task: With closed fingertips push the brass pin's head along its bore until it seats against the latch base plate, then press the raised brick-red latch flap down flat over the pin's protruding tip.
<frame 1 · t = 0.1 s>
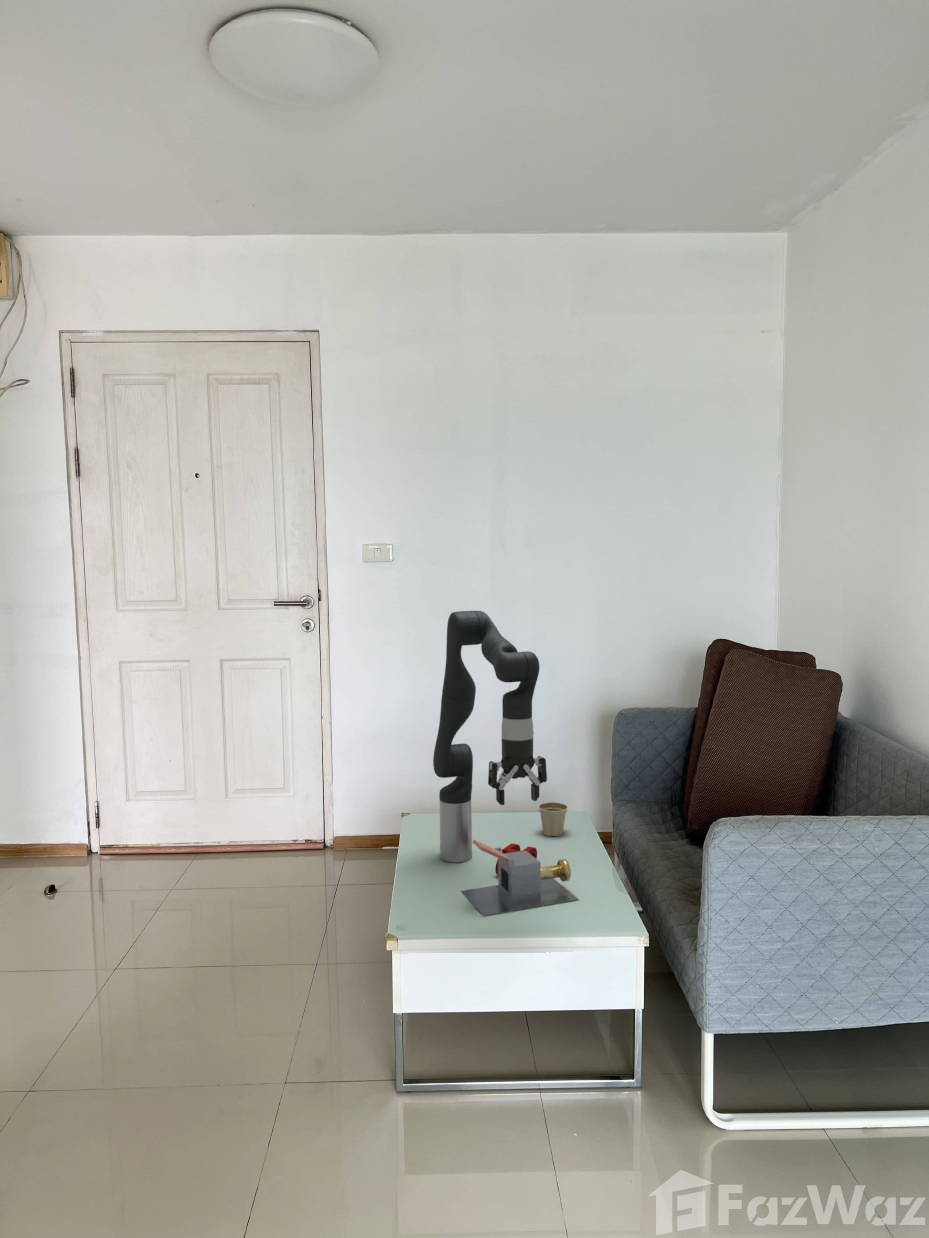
hand: (517, 802, 207), 29 cm above the table, fingers open, 8 cm apart
latch flap: (491, 851, 220), point 13 cm above the table, hinge at 30.0°
brass pin: (540, 873, 226), point 5 cm above the table, slide at 8.0 cm
flower pot: (553, 834, 271), on the table
mechanical linkage: (513, 869, 243), on the table
latch base plate: (519, 895, 224), on the table
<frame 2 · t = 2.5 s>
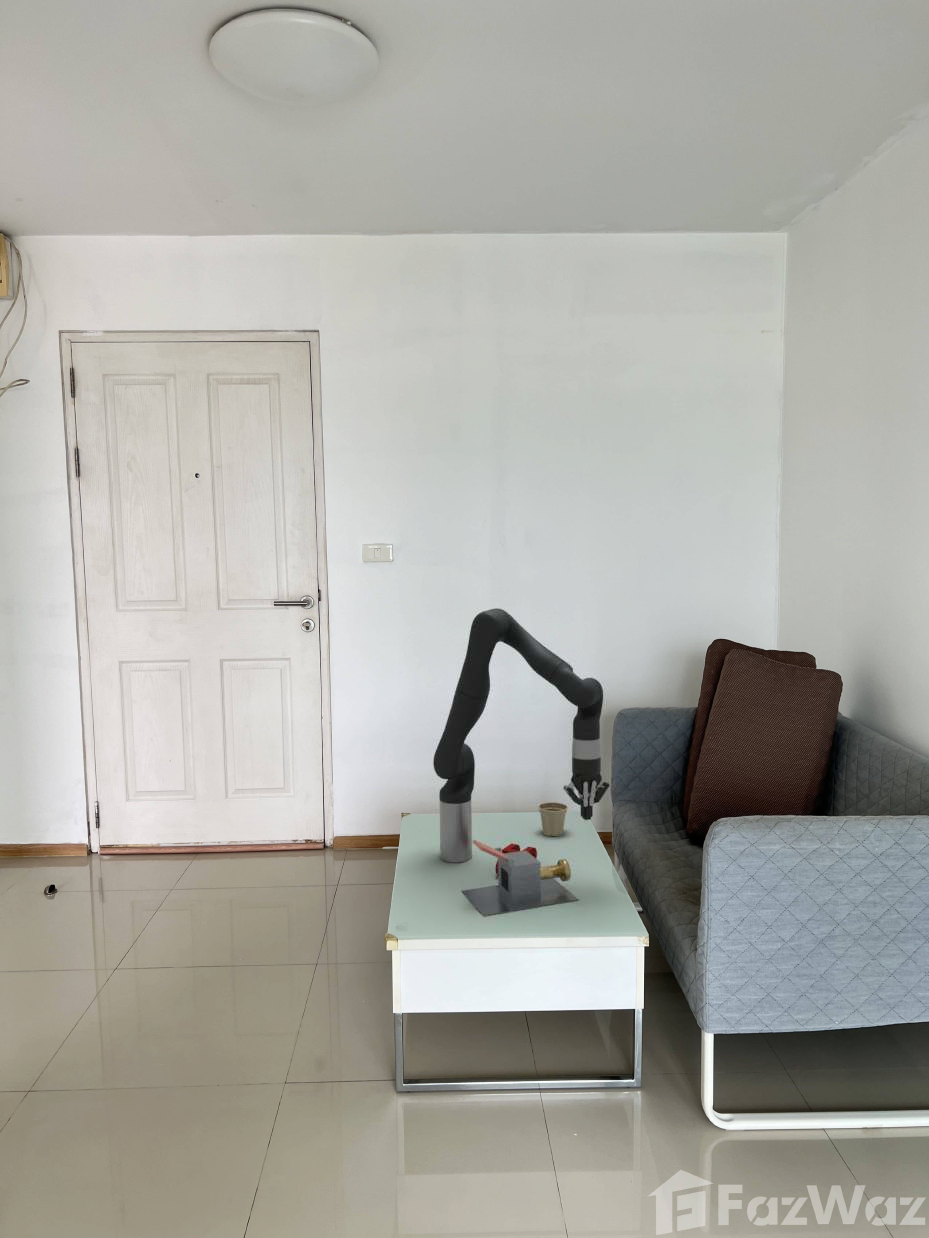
hand: (586, 818, 229), 18 cm above the table, fingers closed
nothing on the table moved.
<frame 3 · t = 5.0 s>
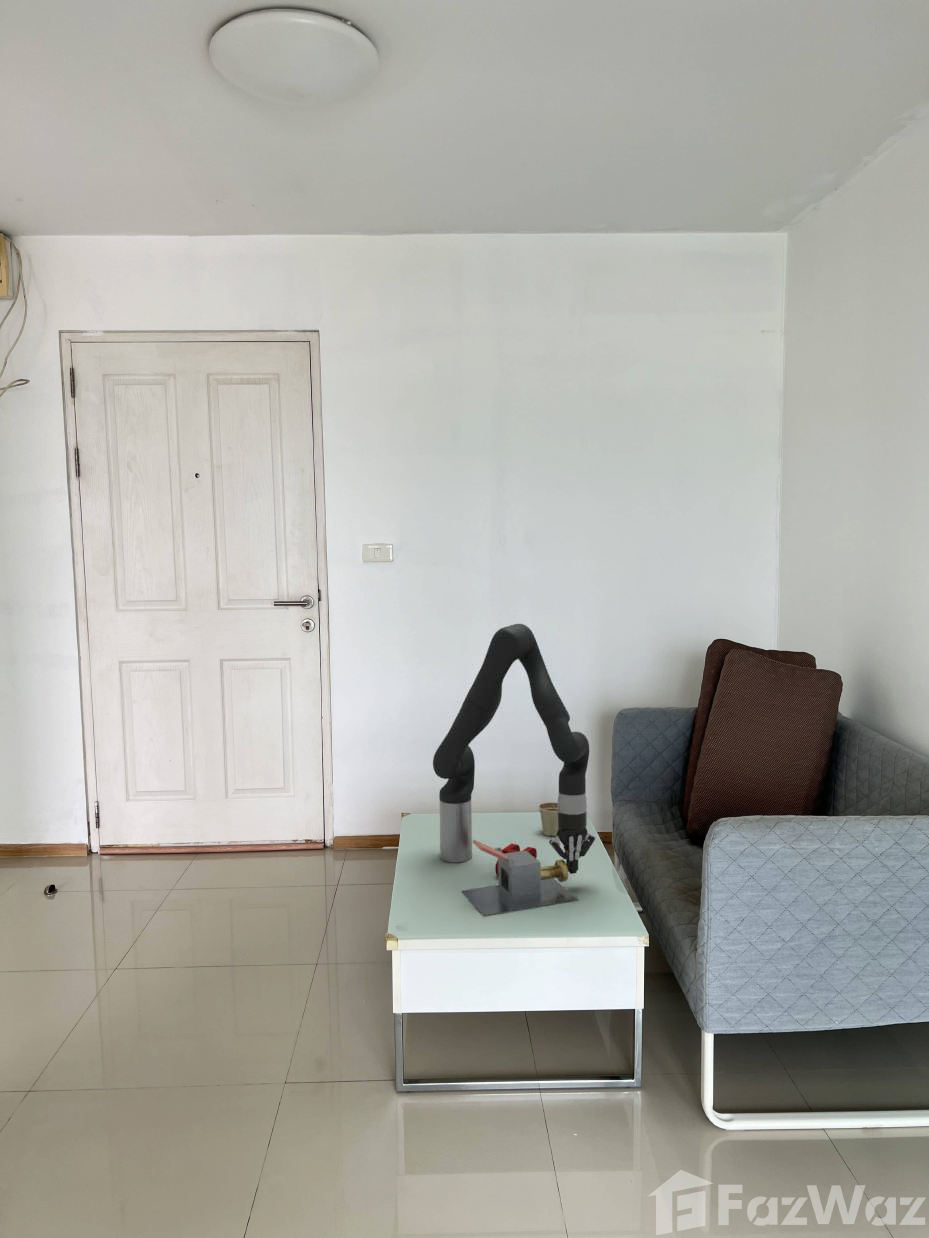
hand: (572, 872, 229), 4 cm above the table, fingers closed
brass pin: (538, 874, 226), point 5 cm above the table, slide at 7.3 cm, touching gripper
everything else where it was.
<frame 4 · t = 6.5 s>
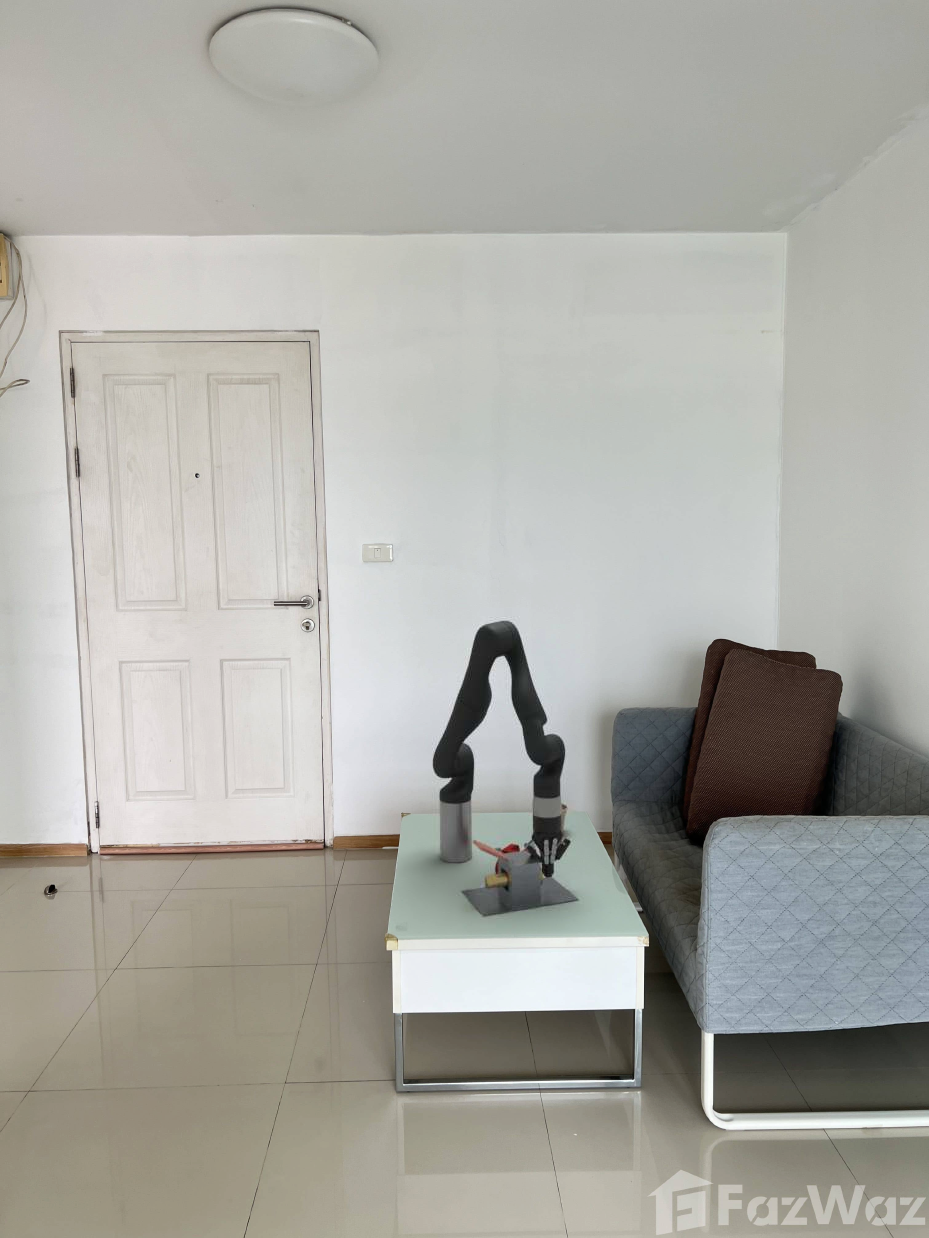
hand: (547, 876, 227), 4 cm above the table, fingers closed
brass pin: (512, 878, 223), point 5 cm above the table, slide at 0.1 cm
everything else where it was.
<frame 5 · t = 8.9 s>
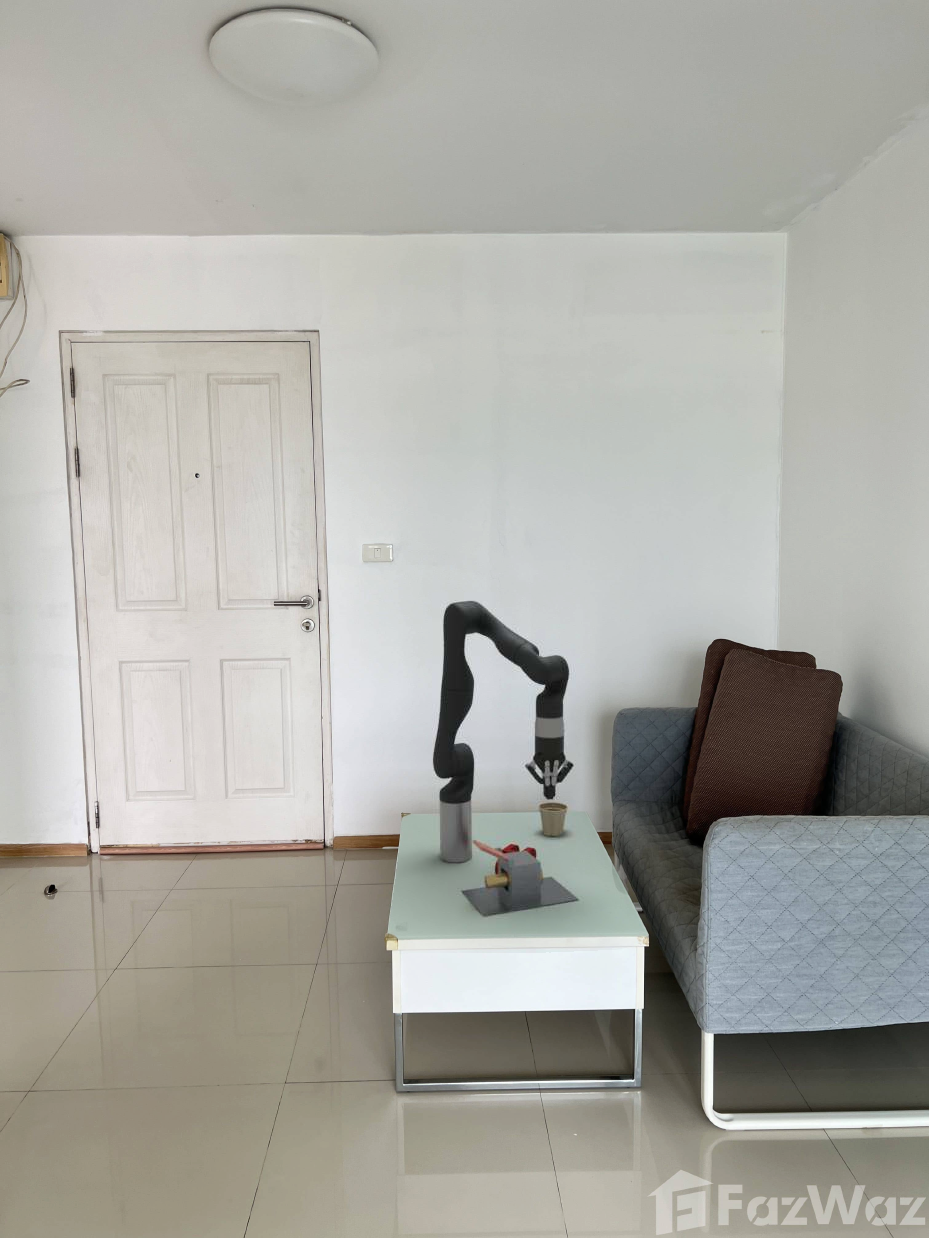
hand: (549, 798, 225), 25 cm above the table, fingers closed
nothing on the table moved.
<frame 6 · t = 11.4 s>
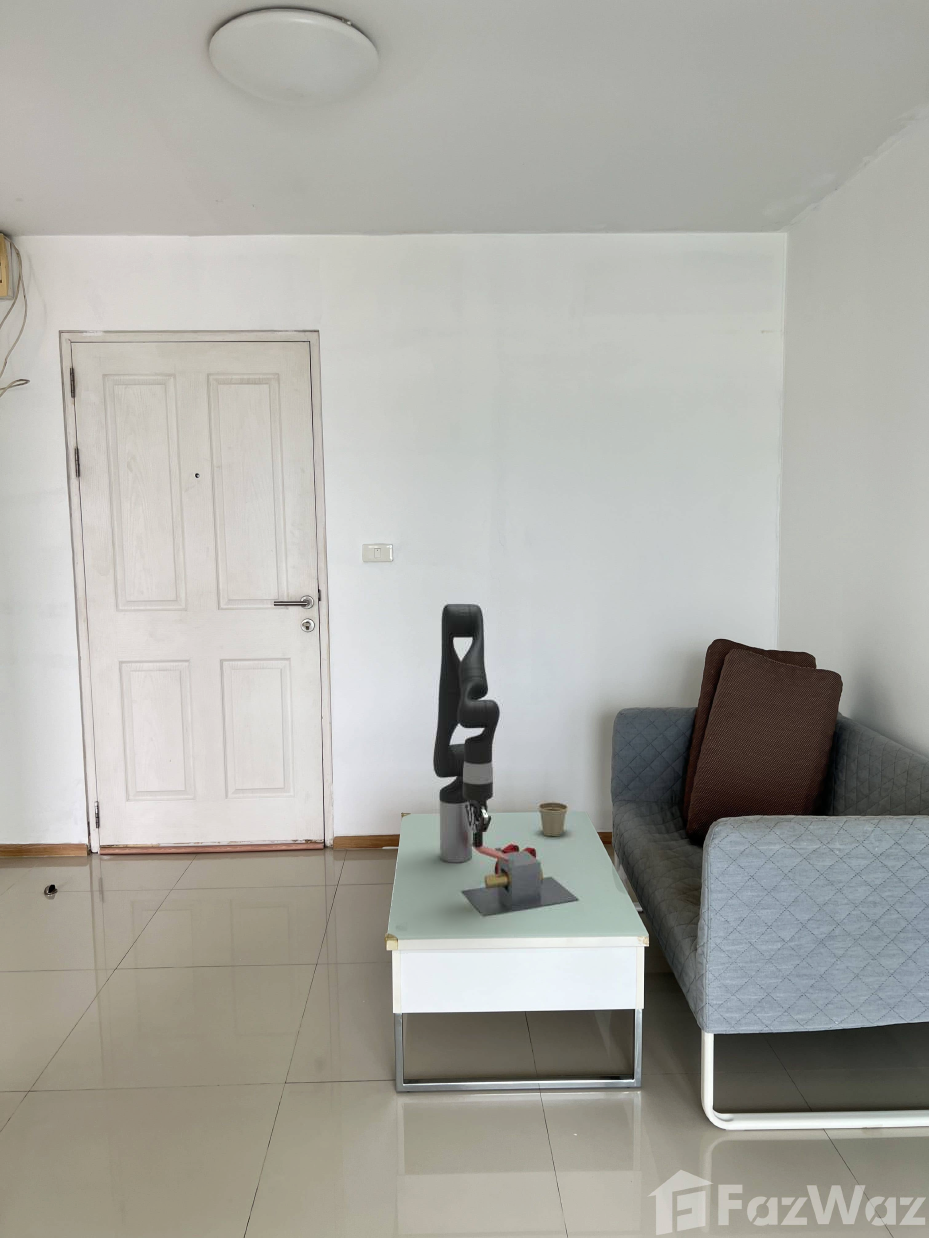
hand: (477, 846, 219), 15 cm above the table, fingers closed
latch flap: (491, 852, 220), point 13 cm above the table, hinge at 24.7°, touching gripper
everything else where it was.
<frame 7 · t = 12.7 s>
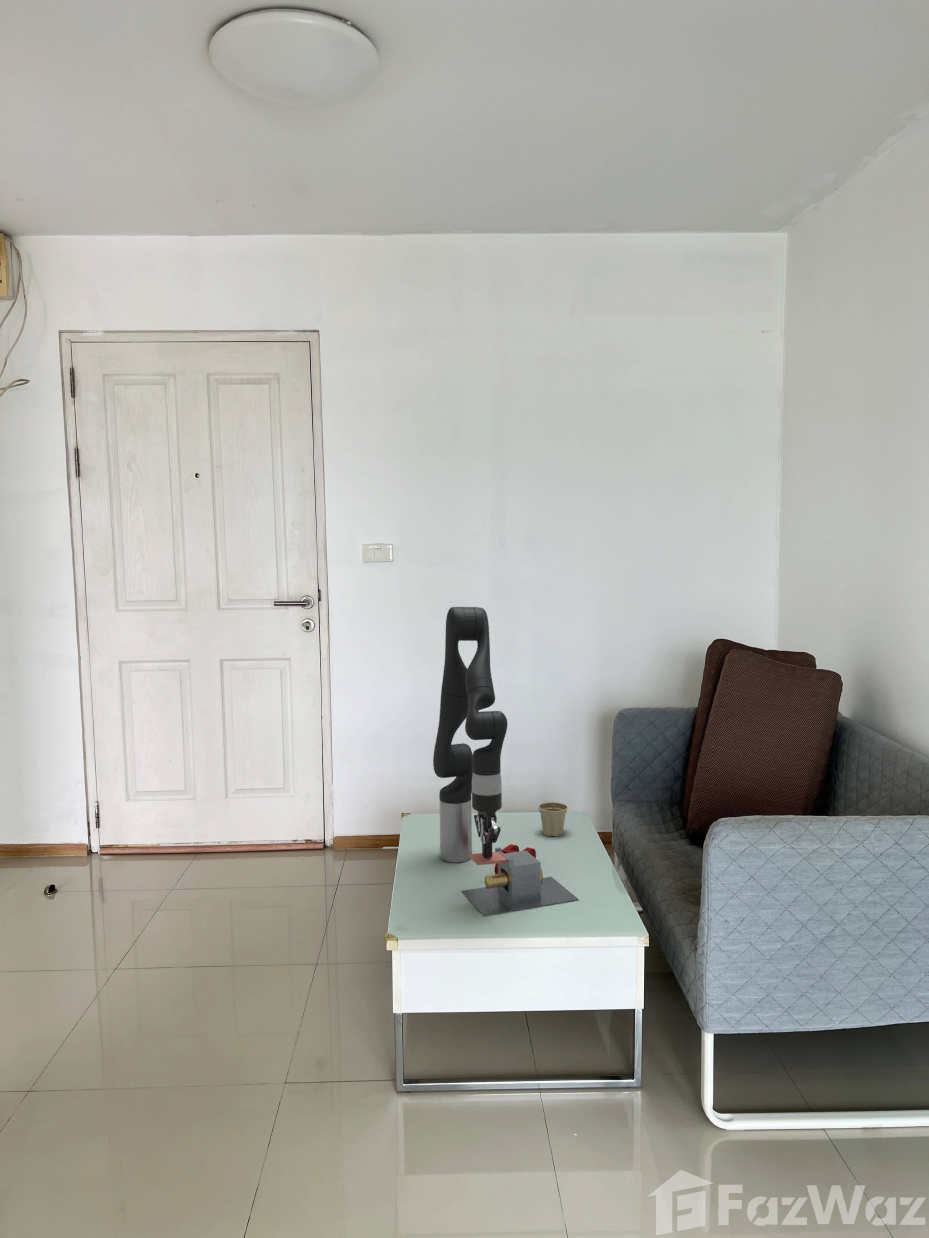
hand: (487, 856, 220), 12 cm above the table, fingers closed
latch flap: (489, 858, 220), point 11 cm above the table, hinge at 3.8°
everything else where it was.
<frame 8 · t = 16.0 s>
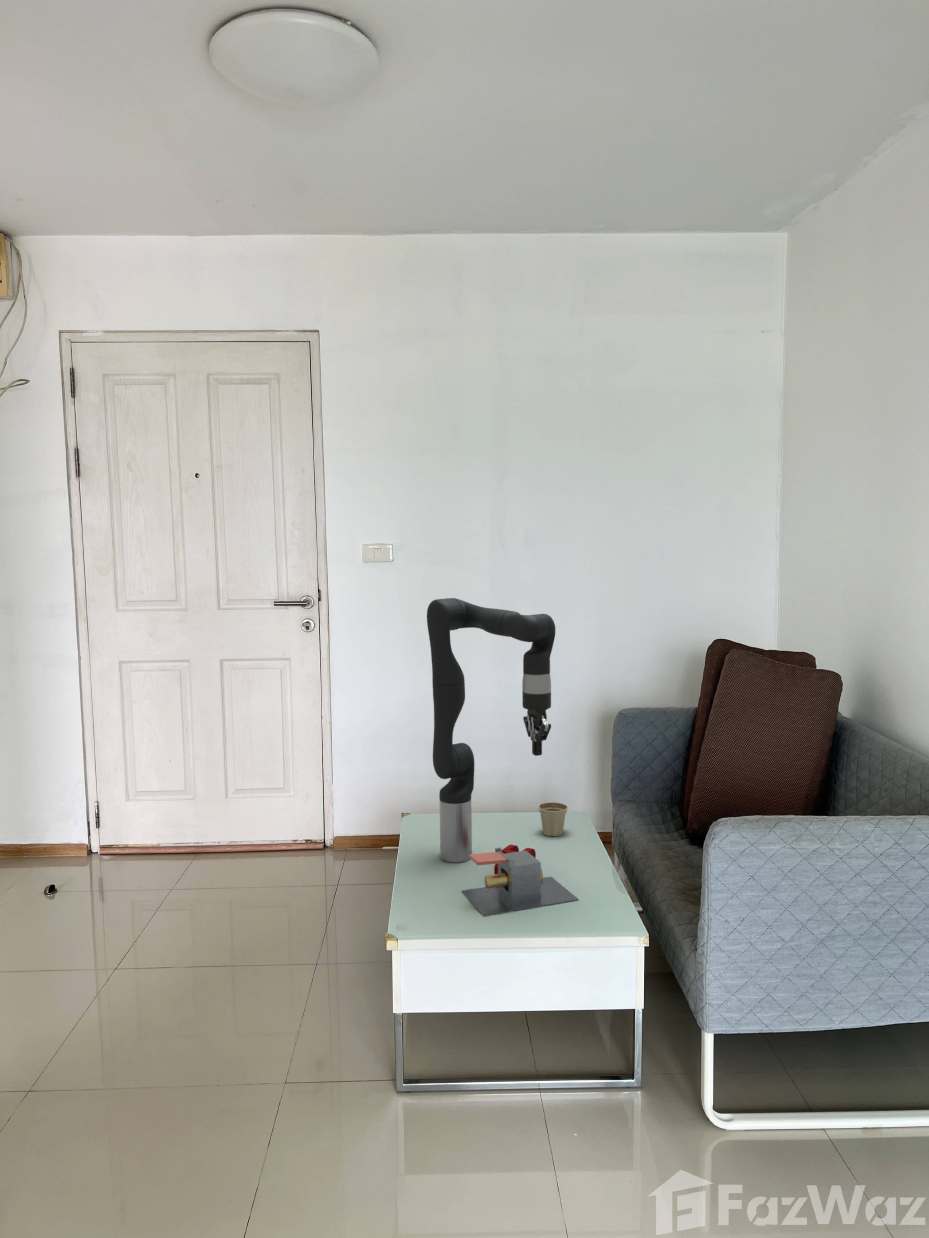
hand: (537, 754, 229), 35 cm above the table, fingers closed
nothing on the table moved.
at the end: brass pin slide at 0.1 cm; latch flap at +4° (first picture: +30°) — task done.
